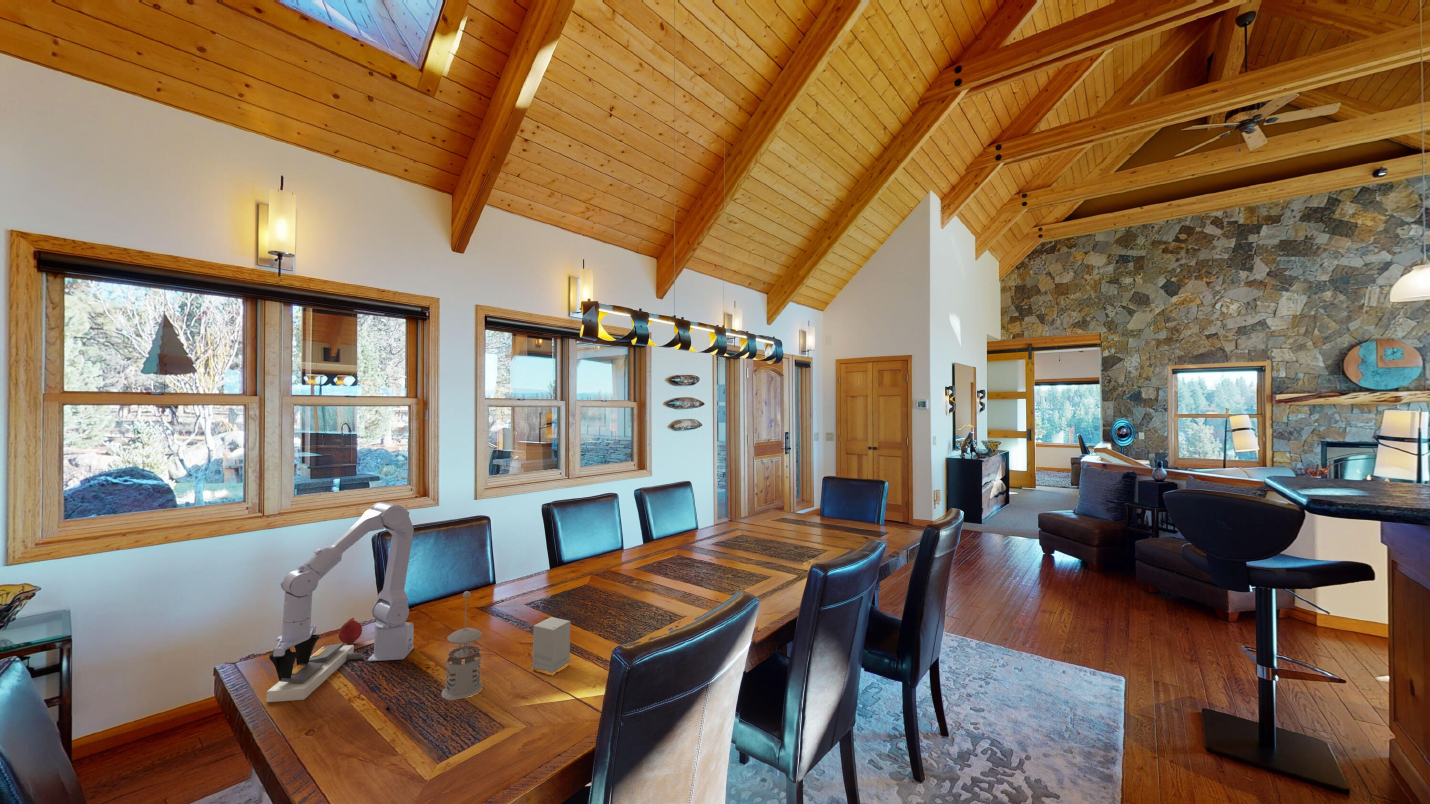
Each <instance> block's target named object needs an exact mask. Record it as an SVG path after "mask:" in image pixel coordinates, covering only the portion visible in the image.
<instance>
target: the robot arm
mask: <svg viewBox="0 0 1430 804" xmlns="http://www.w3.org/2000/svg"><path fill="white" fill-rule="evenodd" d="M414 529H415V528H414V526H413V522H412V520H411V518H410V511H408V510H407V509H406V507H403V505H399V504H392V503H389V502H386V501H379V502H376V503H374V504H373V505H372V506H371V507H370V508H369V509H367V510H365V511H364V513H363V514H362V516H361V517H360V518H359V519H357V520H356V522H355V523H354V524H353V525H351V526H350V528H348V529H347V530H346V531H345V532H344V533H343V534H342V535H341V536H340V537H339V538H338V539H336V541H334V543H332V544H331V545H325V546H323V547H321V548H317V549H316V550H314V552H313V553H314V554H313V555H312V556H311V557H310V558H309V559H307V560H306V561H305V562H304V563H303V564H299V565H298V566H297V567H296V568H297V569H295V570H292V571H290V572H289V573H287V574H286V575H285V576H284V578H283V580H282V582H280V588H281V589H282V590H283V591H284V600H283V601H284V602H283V611H282V625H281V626H282V629H281V635H279V636H278V637H276V642H278V643H277V645H276V646H275V647H274V648H273V652H270V653H269V654H268V656H269V660H270V661H271V662H272V664H273V665H274V668H275V671H276V673H277V677H278V680H279V681H281V678H290V677H291V675H292V670H293V669H294V664H295V661H296V666H297V665H299V664H300V663H304V664H307V663H308V662H309V659H310V657H311V656H312V653H313V650H314V648H315V646H316V644H317V642H318V641H319V639H320V634H315V633H316V632H317V626H316V624H313V625H312V609H313V608H312V607H313V592H314V591H315V590H317V588H318V585H319V582H320V580H321V579H322V578H324V577H325V576H326V575H327V574H329V572H330V571H331V570H333V568H335V567H336V566H337V565H338V564H339V563H341V561H342V557H343V553H345V552H346V551H348V549H350V548H351V547H352V546H353V545H355V544H356V543H357V542H358V541H359V540H361V539H362V538H363V537H364V536H365V535H367V534H368V533H370V532H374V531H378V530H380V531H381V530H386V531H387V532H388V533H390V535H391V539H390V540H391V541H390V546H389V551H388V557H387V563H386V570H385V575H384V582H383V586H382V590H381V591H380V592H379V593H378V594H377V598H376V601H375V603H374V604H373V605H372V607H371V608H372V609H371V615H372V617H373V618H374V619H375V625H374V626H375V627H374V643H373V644H374V645H373V646H374V648H373V653H372V655H371V656H370V657H369V658H367V662H377V661H379V662H380V661H394V660H404V659H406V657H407V656H408V655H410V653H411V651H412V650H413V649H414V648H415V647H414V633H415V632H414V631H415V627H414V623H413V622H407V621H406V620H408V617H409V614H410V609H409V605H408V604H409V603H408V600H409V597H408V594H407V592H406V590H405V587H406V579H407V575H408V574H407V573H408V570H409V569H408V568H409V567H408V566H409V562H410V556H411V549H412V542H413V537H414V531H415V530H414ZM293 647H294V650H295V651H292V650H291V649H292V648H293ZM279 681H278V682H279Z"/></svg>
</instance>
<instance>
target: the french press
mask: <svg viewBox="0 0 1430 804" xmlns="http://www.w3.org/2000/svg"><path fill="white" fill-rule="evenodd" d="M471 595H472V594H471V592H470V591H468V590H466V591H464V592H462V598H465V611H464V612H465V615H464V616H465V618H464V628H460V629H458V630H455V631H453V632H451V634H449V635H447V638H446V639H447V640H448V642H449V643H451V644H453V645H458V647H457V648H454V649H452V650H451V651H449V653H448V656H449V657H448V658H447V660H446V669H445V670H446V675H445V688H443V690H442V691H441V693H442V694H440V695H441V697H442V698H443V699H444V698H445V699H444V700H446V701H454V700H455V699H460V698H466V697H468V696H471V695H474V694H476V693H478V692H479V691H480V690H481V688H482V684H483V683H482V681H481V677H480V676H481V663H482V661H481V660H482V659H481V657H482V655H481V653H480V648H479V647H477V646H475V645H473V646H472V645H468V644H470V643H473V642H476V641H478V640H479V639H481V638H482V636H483V632H482V631H481V630H479V629H476V628H472V627H467V609H468V608H467V607H468V597H471ZM461 645H463V646H461ZM475 658H478V659H475ZM462 660H464V664H462ZM481 683H482V684H481ZM455 701H456V700H455Z"/></svg>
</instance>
